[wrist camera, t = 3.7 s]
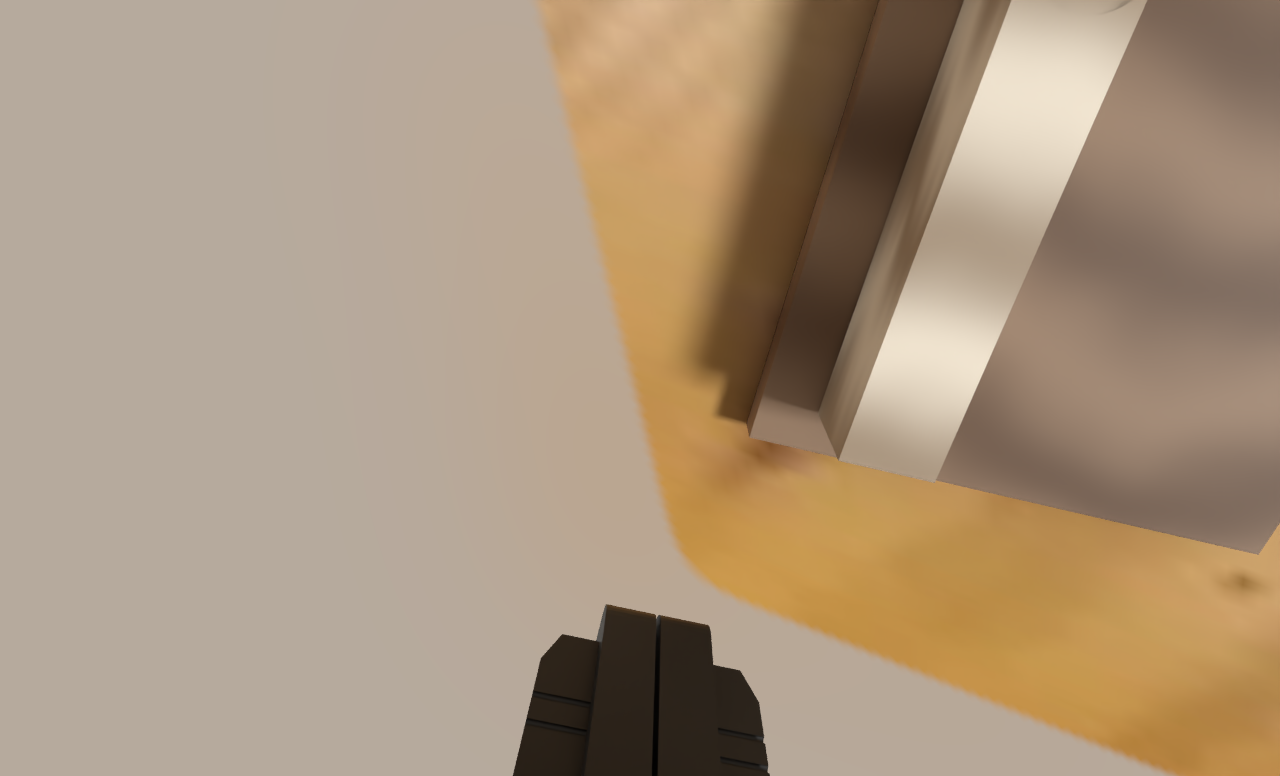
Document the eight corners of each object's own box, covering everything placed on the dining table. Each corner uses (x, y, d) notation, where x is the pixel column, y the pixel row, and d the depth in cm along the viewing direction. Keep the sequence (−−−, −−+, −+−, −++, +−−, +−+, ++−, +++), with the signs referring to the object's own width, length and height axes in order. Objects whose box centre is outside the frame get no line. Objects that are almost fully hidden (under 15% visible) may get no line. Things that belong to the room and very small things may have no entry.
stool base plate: (941, -200, 19) (1023, -297, 14) (1599, -28, 20) (1881, -69, 15) (746, 423, 26) (760, 491, 22) (1234, 536, 27) (1349, 625, 22)
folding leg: (1002, -109, 19) (1080, -161, 15) (1110, -81, 19) (1215, -127, 15) (817, 413, 24) (842, 468, 21) (901, 432, 25) (940, 491, 21)
